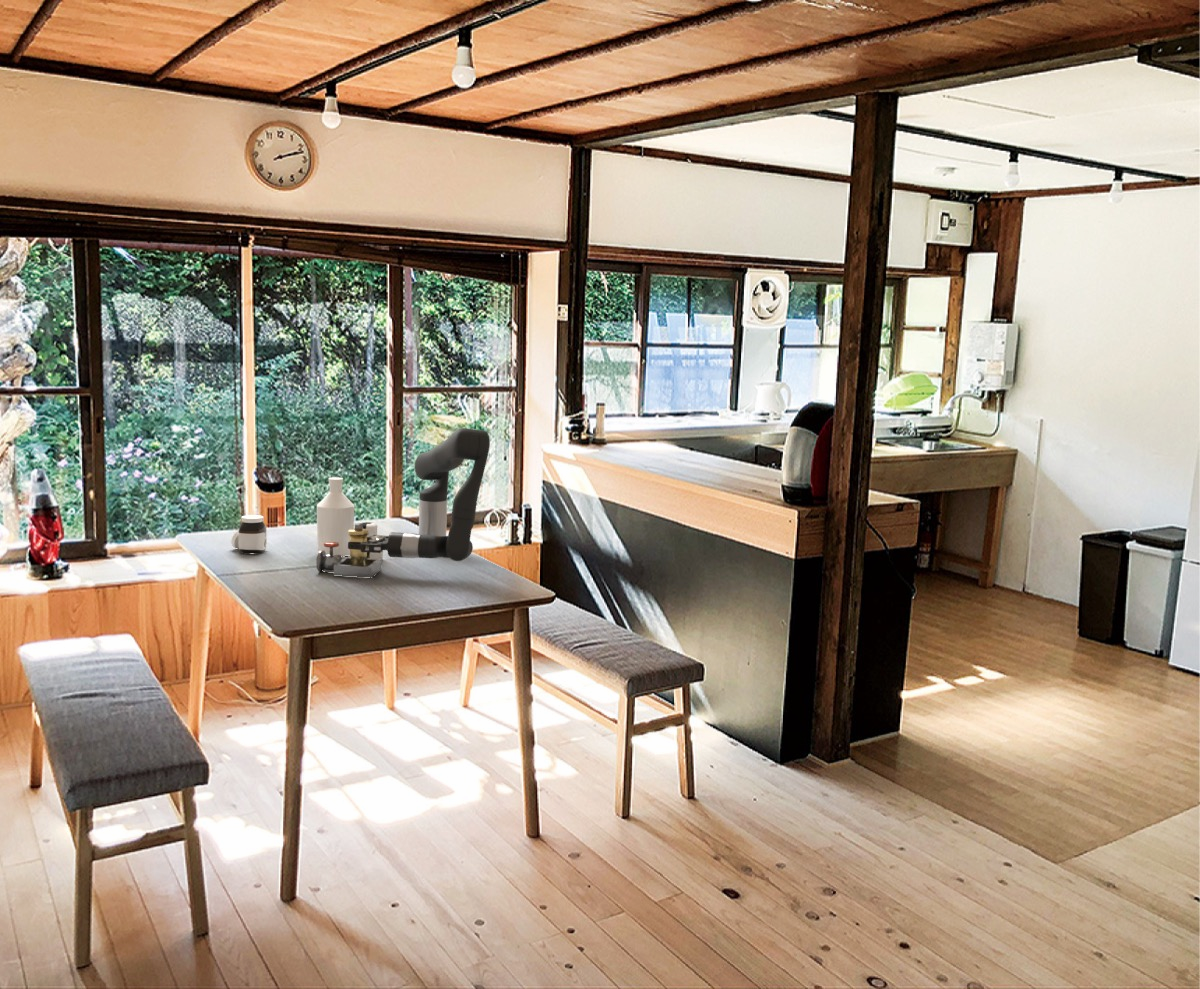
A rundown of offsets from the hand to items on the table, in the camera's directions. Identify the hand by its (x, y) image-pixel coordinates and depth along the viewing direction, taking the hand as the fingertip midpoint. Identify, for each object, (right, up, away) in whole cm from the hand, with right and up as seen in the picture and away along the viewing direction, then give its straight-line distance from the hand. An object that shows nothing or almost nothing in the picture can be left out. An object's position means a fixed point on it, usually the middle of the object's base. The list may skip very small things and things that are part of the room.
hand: (352, 542), depth 321 cm
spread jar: (-40, -4, +25) cm, 47 cm away
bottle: (-12, -5, +27) cm, 30 cm away
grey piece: (-2, -9, +2) cm, 10 cm away
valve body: (+1, -9, +1) cm, 9 cm away
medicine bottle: (0, -7, +20) cm, 21 cm away
